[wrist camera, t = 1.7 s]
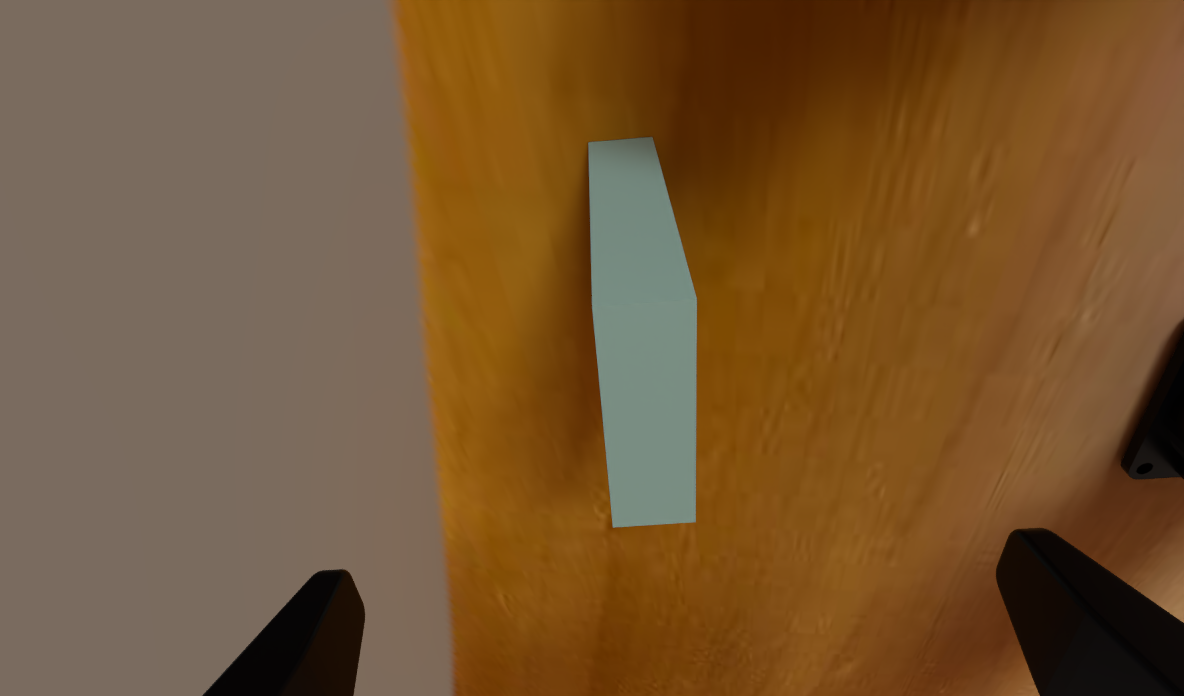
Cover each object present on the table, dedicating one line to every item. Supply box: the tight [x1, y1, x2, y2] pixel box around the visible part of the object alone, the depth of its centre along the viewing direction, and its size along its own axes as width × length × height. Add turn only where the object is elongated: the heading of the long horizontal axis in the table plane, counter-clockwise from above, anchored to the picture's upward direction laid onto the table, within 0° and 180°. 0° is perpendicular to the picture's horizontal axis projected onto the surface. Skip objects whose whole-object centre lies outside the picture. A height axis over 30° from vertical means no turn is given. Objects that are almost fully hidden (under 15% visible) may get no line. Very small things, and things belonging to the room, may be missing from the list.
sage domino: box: [588, 137, 697, 527], centre depth 15 cm, size 2×5×8 cm, turn 5°
